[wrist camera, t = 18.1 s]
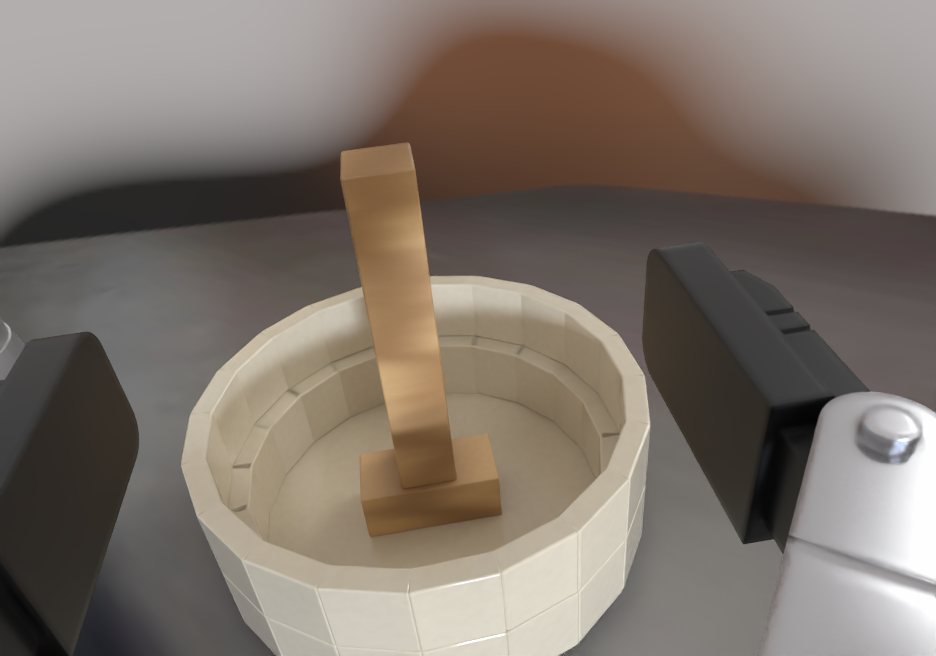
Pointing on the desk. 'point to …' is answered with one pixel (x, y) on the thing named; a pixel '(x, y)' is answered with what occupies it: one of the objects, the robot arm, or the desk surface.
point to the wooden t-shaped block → (408, 359)
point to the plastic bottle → (8, 349)
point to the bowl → (367, 430)
